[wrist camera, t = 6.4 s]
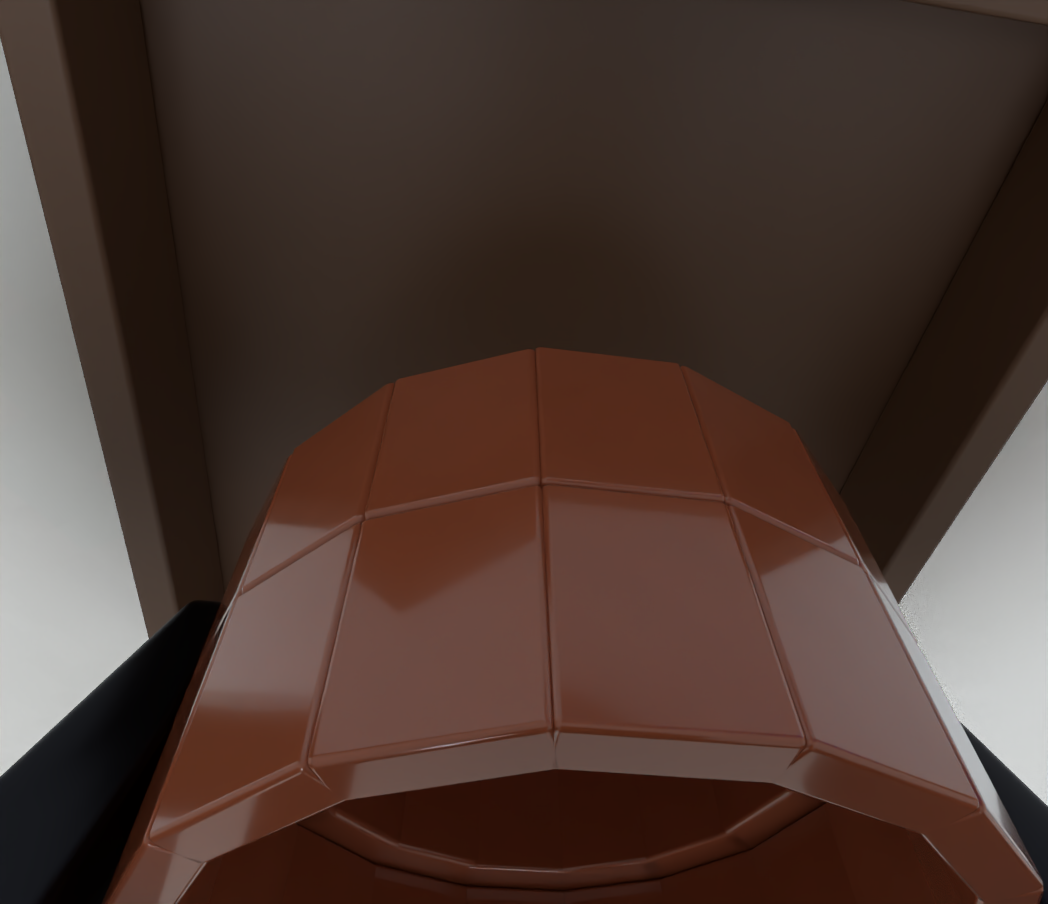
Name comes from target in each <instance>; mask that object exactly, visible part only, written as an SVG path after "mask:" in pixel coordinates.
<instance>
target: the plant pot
mask: <svg viewBox="0 0 1048 904" xmlns="http://www.w3.org/2000/svg"><path fill="white" fill-rule="evenodd" d="M1043 893H1044V889H1043V881H1042V878H1041V876H1040V874H1039V872H1038V870H1037V868H1036V866H1035V864H1034V862H1033V861H1032V859H1031V857H1030V855H1029V853H1028V851H1027V849H1026V847H1025V845H1024V843H1023V842H1022V840H1021V838H1020V836H1019V834H1018V832H1017V830H1016V828H1015V826H1014V824H1013V822H1012V821H1011V819H1010V817H1009V815H1008V813H1007V811H1006V809H1005V807H1004V805H1003V803H1002V801H1001V800H1000V798H999V796H998V794H997V792H996V790H995V788H994V786H993V784H992V782H991V781H990V779H989V777H988V775H987V773H986V771H985V769H984V767H983V765H982V763H981V761H980V760H979V758H978V756H977V754H976V752H975V750H974V748H973V746H972V744H971V742H970V740H969V739H968V737H967V735H966V733H965V731H964V729H963V727H962V725H961V723H960V721H959V720H958V718H957V716H956V714H955V712H954V710H953V708H952V706H951V704H950V702H949V700H948V699H947V697H946V695H945V693H944V691H943V689H942V687H941V685H940V683H939V681H938V679H937V678H936V676H935V674H934V672H933V670H932V668H931V666H930V664H929V662H928V660H927V659H926V657H925V655H924V653H923V652H922V650H921V649H920V647H919V646H918V641H917V639H916V638H915V636H914V634H913V632H912V630H911V628H910V626H909V624H908V622H907V620H906V619H905V617H904V615H903V613H902V611H901V609H900V607H899V605H898V603H897V601H896V599H895V598H894V596H893V594H892V592H891V590H890V588H889V586H888V584H887V582H886V580H885V578H884V577H883V575H882V573H881V571H880V569H879V567H878V565H877V563H876V561H875V559H874V558H873V556H872V554H871V552H870V550H869V548H868V546H867V544H866V542H865V540H864V538H863V537H862V535H861V533H860V531H859V529H858V527H857V525H856V523H855V521H854V519H853V517H852V516H851V514H850V512H849V510H848V508H847V506H846V504H845V503H844V501H843V500H842V498H841V497H840V495H839V494H838V492H837V491H836V489H835V488H834V486H833V485H832V483H831V481H830V480H829V478H828V477H827V475H826V474H825V472H824V471H823V469H822V468H821V466H820V465H819V463H818V462H817V460H816V459H815V457H814V456H813V454H812V453H811V451H810V450H809V448H808V447H807V445H806V443H805V442H804V440H803V439H802V437H801V436H800V434H799V433H798V431H797V430H795V429H793V428H792V427H791V425H790V423H789V422H787V421H785V420H783V419H782V418H780V417H778V416H776V415H774V414H772V413H771V412H769V411H767V410H765V409H763V408H761V407H760V406H758V405H756V404H754V403H752V402H750V401H749V400H747V399H745V398H743V397H741V396H739V395H738V394H736V393H734V392H732V391H730V390H728V389H727V388H725V387H723V386H721V385H719V384H717V383H716V382H714V381H712V380H710V379H708V378H706V377H705V376H703V375H701V374H699V373H697V372H695V371H694V370H692V369H690V368H688V367H686V366H680V365H679V364H678V363H674V362H666V361H657V360H649V359H640V358H632V357H623V356H615V355H606V354H598V353H590V352H581V351H573V350H564V349H556V348H547V347H537V348H536V349H535V351H534V350H533V349H529V348H528V349H524V350H519V351H515V352H511V353H506V354H502V355H498V356H493V357H489V358H485V359H480V360H476V361H472V362H467V363H463V364H459V365H455V366H450V367H446V368H442V369H437V370H433V371H429V372H424V373H420V374H416V375H411V376H407V377H403V378H399V379H398V380H396V381H395V382H394V383H393V382H390V383H388V384H386V385H385V386H383V387H382V388H380V389H379V390H378V391H376V392H375V393H373V394H372V395H370V396H369V397H368V398H366V399H365V400H363V401H362V402H360V403H359V404H358V405H356V406H355V407H353V408H352V409H350V410H349V411H348V412H346V413H345V414H343V415H342V416H341V417H339V418H338V419H336V420H335V421H333V422H332V423H331V424H329V425H328V426H326V427H325V428H323V429H322V430H321V431H319V432H318V433H316V434H315V435H313V436H312V437H311V438H309V439H308V440H306V441H305V442H303V443H302V444H301V445H299V446H298V447H296V448H295V449H294V451H293V453H292V454H291V455H290V456H289V457H288V458H287V459H286V461H285V463H284V465H283V467H282V469H281V471H280V473H279V475H278V477H277V479H276V481H275V483H274V485H273V487H272V489H271V491H270V493H269V495H268V497H267V499H266V501H265V503H264V504H263V506H262V508H261V510H260V512H259V514H258V516H257V518H256V520H255V522H254V524H253V526H252V528H251V530H250V532H249V534H248V536H247V539H246V542H245V544H244V547H243V549H242V552H241V554H240V557H239V559H238V562H237V564H236V567H235V569H234V572H233V574H232V577H231V579H230V582H229V584H228V587H227V590H226V592H225V595H224V597H223V600H222V602H221V605H220V607H219V610H218V612H217V615H216V617H215V620H214V622H213V625H212V627H211V630H210V632H209V635H208V638H207V640H206V643H205V645H204V648H203V650H202V653H201V655H200V658H199V660H198V663H197V665H196V668H195V670H194V673H193V678H192V680H191V682H190V684H189V686H188V688H187V690H186V693H185V695H184V698H183V700H182V703H181V705H180V708H179V710H178V713H177V715H176V718H175V720H174V723H173V726H172V728H171V731H170V733H169V736H168V738H167V741H166V743H165V746H164V748H163V751H162V753H161V756H160V758H159V761H158V763H157V766H156V768H155V771H154V774H153V776H152V779H151V781H150V784H149V786H148V789H147V791H146V794H145V796H144V799H143V801H142V804H141V806H140V809H139V811H138V814H137V816H136V819H135V822H134V824H133V827H132V829H131V832H130V834H129V837H128V839H127V842H126V844H125V847H124V849H123V852H122V854H121V857H120V859H119V862H118V864H117V867H116V869H115V872H114V875H113V877H112V880H111V882H110V885H109V887H108V890H107V892H106V895H105V897H104V900H103V902H102V904H1040V901H1041V898H1042V896H1043Z"/></svg>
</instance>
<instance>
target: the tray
mask: <svg viewBox="0 0 1048 904" xmlns="http://www.w3.org/2000/svg"><path fill="white" fill-rule="evenodd" d="M0 38H1V42H2V46H3V50H4V54H5V58H6V62H7V66H8V70H9V74H10V78H11V82H12V86H13V90H14V95H15V99H16V103H17V107H18V111H19V115H20V119H21V123H22V127H23V131H24V135H25V139H26V143H27V147H28V151H29V155H30V159H31V163H32V167H33V171H34V175H35V179H36V184H37V188H38V192H39V196H40V200H41V204H42V208H43V212H44V216H45V220H46V224H47V228H48V232H49V236H50V240H51V244H52V248H53V252H54V256H55V260H56V264H57V268H58V273H59V277H60V281H61V285H62V289H63V293H64V297H65V301H66V305H67V309H68V313H69V317H70V321H71V325H72V329H73V333H74V337H75V341H76V345H77V349H78V353H79V357H80V362H81V366H82V370H83V374H84V378H85V382H86V386H87V390H88V394H89V398H90V402H91V406H92V410H93V414H94V418H95V422H96V426H97V430H98V434H99V438H100V442H101V446H102V450H103V455H104V459H105V463H106V467H107V471H108V475H109V479H110V483H111V487H112V491H113V495H114V499H115V503H116V507H117V511H118V515H119V519H120V523H121V527H122V531H123V535H124V539H125V544H126V548H127V552H128V556H129V560H130V564H131V568H132V572H133V576H134V580H135V584H136V588H137V592H138V596H139V600H140V604H141V608H142V612H143V616H144V620H145V624H146V628H147V633H148V637H149V639H150V638H151V637H152V636H153V635H154V634H155V633H156V632H157V631H158V630H159V629H160V628H161V627H163V626H164V625H165V624H166V623H167V622H168V621H169V620H170V619H171V618H172V617H173V616H174V615H175V614H177V613H178V612H179V611H180V610H181V609H182V608H183V607H184V606H185V605H186V604H188V603H189V602H192V601H194V600H207V601H218V602H222V600H223V597H224V595H225V592H226V590H227V587H228V584H229V582H230V579H231V577H232V574H233V572H234V569H235V567H236V564H237V562H238V559H239V557H240V554H241V552H242V549H243V547H244V544H245V542H246V539H247V536H248V534H249V532H250V530H251V528H252V526H253V524H254V522H255V520H256V518H257V516H258V514H259V512H260V510H261V508H262V506H263V504H264V503H265V501H266V499H267V497H268V495H269V493H270V491H271V489H272V487H273V485H274V483H275V481H276V479H277V477H278V475H279V473H280V471H281V469H282V467H283V465H284V463H285V461H286V459H287V458H288V457H289V456H290V455H291V454H292V453H293V451H294V449H295V448H296V447H298V446H299V445H301V444H302V443H303V442H305V441H306V440H308V439H309V438H311V437H312V436H313V435H315V434H316V433H318V432H319V431H321V430H322V429H323V428H325V427H326V426H328V425H329V424H331V423H332V422H333V421H335V420H336V419H338V418H339V417H341V416H342V415H343V414H345V413H346V412H348V411H349V410H350V409H352V408H353V407H355V406H356V405H358V404H359V403H360V402H362V401H363V400H365V399H366V398H368V397H369V396H370V395H372V394H373V393H375V392H376V391H378V390H379V389H380V388H382V387H383V386H385V385H386V384H388V383H390V382H393V383H394V382H395V381H396V380H398V379H399V378H403V377H407V376H411V375H416V374H420V373H424V372H429V371H433V370H437V369H442V368H446V367H450V366H455V365H459V364H463V363H467V362H472V361H476V360H480V359H485V358H489V357H493V356H498V355H502V354H506V353H511V352H515V351H519V350H524V349H528V348H529V349H533V350H534V351H535V349H536V348H537V347H547V348H556V349H564V350H573V351H581V352H590V353H598V354H606V355H615V356H623V357H632V358H640V359H649V360H657V361H666V362H674V363H678V364H679V365H680V366H686V367H688V368H690V369H692V370H694V371H695V372H697V373H699V374H701V375H703V376H705V377H706V378H708V379H710V380H712V381H714V382H716V383H717V384H719V385H721V386H723V387H725V388H727V389H728V390H730V391H732V392H734V393H736V394H738V395H739V396H741V397H743V398H745V399H747V400H749V401H750V402H752V403H754V404H756V405H758V406H760V407H761V408H763V409H765V410H767V411H769V412H771V413H772V414H774V415H776V416H778V417H780V418H782V419H783V420H785V421H787V422H789V423H790V425H791V427H792V428H793V429H795V430H797V431H798V433H799V434H800V436H801V437H802V439H803V440H804V442H805V443H806V445H807V447H808V448H809V450H810V451H811V453H812V454H813V456H814V457H815V459H816V460H817V462H818V463H819V465H820V466H821V468H822V469H823V471H824V472H825V474H826V475H827V477H828V478H829V480H830V481H831V483H832V485H833V486H834V488H835V489H836V491H837V492H838V494H839V495H840V497H841V498H842V500H843V501H844V503H845V504H846V506H847V508H848V510H849V512H850V514H851V516H852V517H853V519H854V521H855V523H856V525H857V527H858V529H859V531H860V533H861V535H862V537H863V538H864V540H865V542H866V544H867V546H868V548H869V550H870V552H871V554H872V556H873V558H874V559H875V561H876V563H877V565H878V567H879V569H880V571H881V573H882V575H883V577H884V578H885V580H886V582H887V584H888V586H889V588H890V590H891V592H892V594H893V596H894V598H895V599H896V601H897V603H898V604H899V602H900V601H901V599H902V598H903V596H904V595H905V593H906V592H907V590H908V589H909V587H910V586H911V584H912V583H913V581H914V580H915V578H916V577H917V575H918V574H919V572H920V571H921V569H922V568H923V566H924V565H925V563H926V562H927V560H928V559H929V557H930V556H931V554H932V553H933V551H934V550H935V548H936V547H937V545H938V544H939V542H940V541H941V539H942V538H943V536H944V535H945V533H946V532H947V530H948V529H949V527H950V526H951V524H952V523H953V521H954V520H955V518H956V517H957V515H958V514H959V512H960V511H961V509H962V508H963V506H964V505H965V503H966V502H967V500H968V499H969V497H970V496H971V494H972V493H973V491H974V490H975V488H976V487H977V485H978V484H979V482H980V481H981V479H982V478H983V476H984V475H985V473H986V472H987V470H988V469H989V467H990V466H991V464H992V463H993V461H994V460H995V459H996V457H997V456H998V454H999V453H1000V451H1001V450H1002V448H1003V447H1004V445H1005V444H1006V442H1007V441H1008V439H1009V438H1010V436H1011V435H1012V433H1013V432H1014V430H1015V429H1016V427H1017V426H1018V424H1019V423H1020V421H1021V420H1022V418H1023V417H1024V415H1025V414H1026V412H1027V411H1028V409H1029V408H1030V406H1031V405H1032V403H1033V402H1034V400H1035V399H1036V397H1037V396H1038V394H1039V393H1040V391H1041V390H1042V388H1043V387H1044V385H1045V384H1046V382H1047V381H1048V0H0Z"/></svg>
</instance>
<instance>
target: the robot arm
mask: <svg viewBox="0 0 1048 904" xmlns="http://www.w3.org/2000/svg"><path fill="white" fill-rule="evenodd" d="M220 605H221V602H218V601H207V600H194V601H192V602H189V603H188V604H186V605H185V606H184V607H183V608H182V609H181V610H180V611H179V612H178V613H177V614H175V615H174V616H173V617H172V618H171V619H170V620H169V621H168V622H167V623H166V624H165V625H164V626H163V627H161V628H160V629H159V630H158V631H157V632H156V633H155V634H154V635H153V636H152V637H151V638H150V639H149V640H147V641H146V642H145V643H144V644H143V645H142V646H141V647H140V648H139V649H138V650H137V651H136V652H135V653H133V654H132V655H131V656H130V657H129V658H128V659H127V660H126V661H125V662H124V663H123V664H122V665H120V666H119V667H118V668H117V669H116V670H115V671H114V672H113V673H112V674H111V675H110V676H109V677H108V678H106V679H105V680H104V681H103V682H102V683H101V684H100V685H99V686H98V687H97V688H96V689H95V690H94V691H92V692H91V693H90V694H89V695H88V696H87V697H86V698H85V699H84V700H83V701H82V702H81V703H80V704H78V705H77V706H76V707H75V708H74V709H73V710H72V711H71V712H70V713H69V714H68V715H67V716H65V717H64V718H63V719H62V720H61V721H60V722H59V723H58V724H57V725H56V726H55V727H54V728H53V729H51V730H50V731H49V732H48V733H47V734H46V735H45V736H44V737H43V738H42V739H41V740H40V741H39V742H37V743H36V744H35V745H34V746H33V747H32V748H31V749H30V750H29V751H28V752H27V753H26V754H25V755H23V756H22V757H21V758H20V759H19V760H18V761H17V762H16V763H15V764H14V765H13V766H12V767H10V768H9V769H8V770H7V771H6V772H5V773H4V774H3V775H2V776H1V777H0V904H102V902H103V900H104V897H105V895H106V892H107V890H108V887H109V885H110V882H111V880H112V877H113V875H114V872H115V869H116V867H117V864H118V862H119V859H120V857H121V854H122V852H123V849H124V847H125V844H126V842H127V839H128V837H129V834H130V832H131V829H132V827H133V824H134V822H135V819H136V816H137V814H138V811H139V809H140V806H141V804H142V801H143V799H144V796H145V794H146V791H147V789H148V786H149V784H150V781H151V779H152V776H153V774H154V771H155V768H156V766H157V763H158V761H159V758H160V756H161V753H162V751H163V748H164V746H165V743H166V741H167V738H168V736H169V733H170V731H171V728H172V726H173V723H174V720H175V718H176V715H177V713H178V710H179V708H180V705H181V703H182V700H183V698H184V695H185V693H186V690H187V688H188V686H189V684H190V682H191V680H192V678H193V673H194V670H195V668H196V665H197V663H198V660H199V658H200V655H201V653H202V650H203V648H204V645H205V643H206V640H207V638H208V635H209V632H210V630H211V627H212V625H213V622H214V620H215V617H216V615H217V612H218V610H219V607H220ZM960 723H961V722H960ZM961 725H962V727H963V729H964V731H965V733H966V735H967V737H968V739H969V740H970V742H971V744H972V746H973V748H974V750H975V752H976V754H977V756H978V758H979V760H980V761H981V763H982V765H983V767H984V769H985V771H986V773H987V775H988V777H989V779H990V781H991V782H992V784H993V786H994V788H995V790H996V792H997V794H998V796H999V798H1000V800H1001V801H1002V803H1003V805H1004V807H1005V809H1006V811H1007V813H1008V815H1009V817H1010V819H1011V821H1012V822H1013V824H1014V826H1015V828H1016V830H1017V832H1018V834H1019V836H1020V838H1021V840H1022V842H1023V843H1024V845H1025V847H1026V849H1027V851H1028V853H1029V855H1030V857H1031V859H1032V861H1033V862H1034V864H1035V866H1036V868H1037V870H1038V872H1039V874H1040V876H1041V878H1042V881H1043V889H1044V893H1043V896H1042V898H1041V901H1040V904H1048V806H1047V805H1046V804H1045V803H1044V802H1043V801H1042V800H1041V799H1040V798H1038V797H1037V796H1036V795H1035V794H1034V793H1033V792H1032V791H1031V790H1030V789H1029V788H1028V787H1027V786H1026V785H1025V784H1024V783H1023V782H1022V781H1021V780H1020V779H1019V778H1018V777H1017V776H1016V775H1015V774H1014V773H1013V772H1012V771H1011V770H1009V769H1008V768H1007V767H1006V766H1005V765H1004V764H1003V763H1002V762H1001V761H1000V760H999V759H998V758H997V757H996V756H995V755H994V754H993V753H992V752H991V751H990V750H989V749H988V748H987V747H986V746H985V745H984V744H983V743H982V742H981V741H979V740H978V739H977V738H976V737H975V736H974V735H973V734H972V733H971V732H970V731H969V730H968V729H967V728H966V727H965V726H964V725H963V724H962V723H961Z"/></svg>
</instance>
